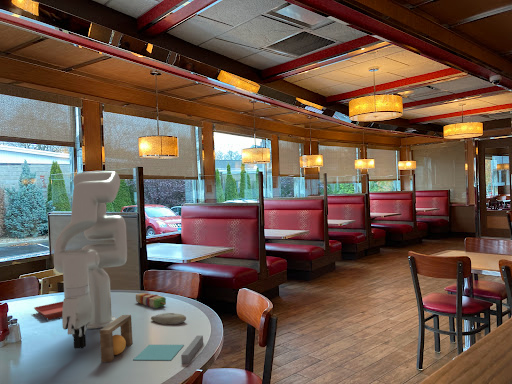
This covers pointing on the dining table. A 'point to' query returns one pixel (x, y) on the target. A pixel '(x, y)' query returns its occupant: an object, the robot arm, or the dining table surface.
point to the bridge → (107, 336)
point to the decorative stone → (169, 318)
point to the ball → (118, 344)
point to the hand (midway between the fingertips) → (80, 347)
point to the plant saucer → (51, 310)
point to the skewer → (151, 300)
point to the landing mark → (159, 352)
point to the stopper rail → (191, 349)
